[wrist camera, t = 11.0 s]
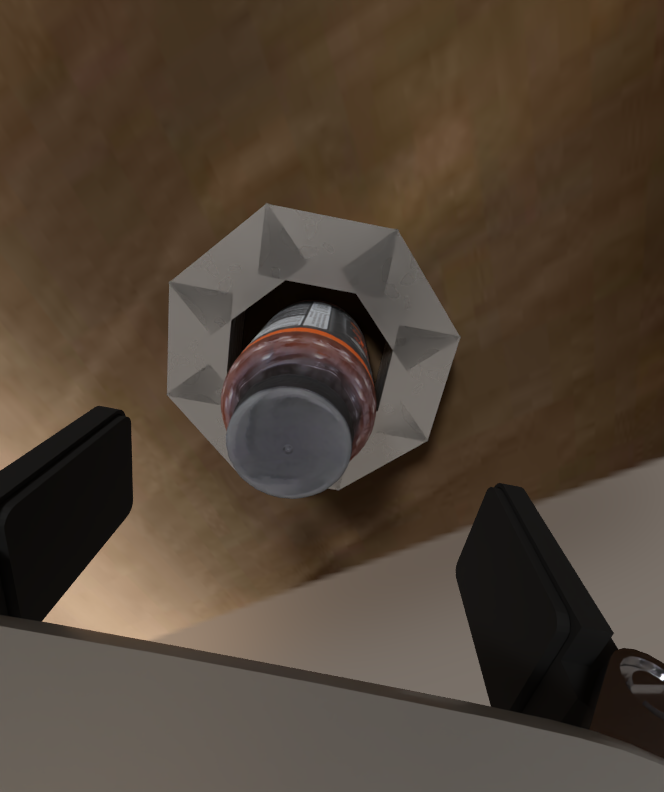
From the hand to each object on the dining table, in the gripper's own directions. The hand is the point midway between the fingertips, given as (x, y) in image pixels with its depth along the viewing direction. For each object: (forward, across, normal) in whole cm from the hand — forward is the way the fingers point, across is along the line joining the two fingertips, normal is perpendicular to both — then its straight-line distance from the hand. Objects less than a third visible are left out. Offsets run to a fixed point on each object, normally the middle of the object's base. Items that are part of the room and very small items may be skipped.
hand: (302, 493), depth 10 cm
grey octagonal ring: (+13, +1, 0) cm, 13 cm away
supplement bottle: (+14, +1, 0) cm, 14 cm away
